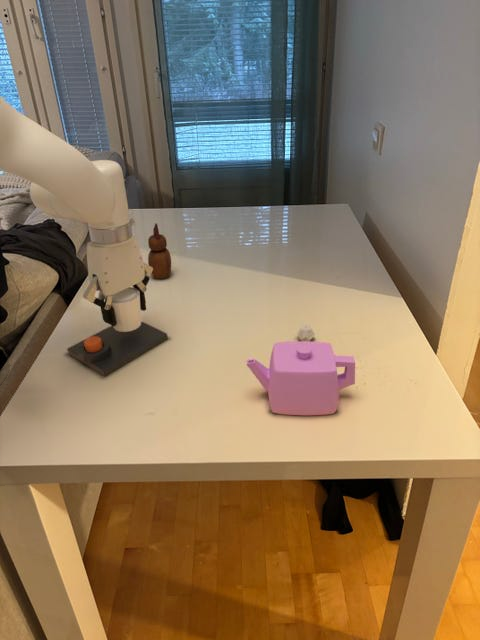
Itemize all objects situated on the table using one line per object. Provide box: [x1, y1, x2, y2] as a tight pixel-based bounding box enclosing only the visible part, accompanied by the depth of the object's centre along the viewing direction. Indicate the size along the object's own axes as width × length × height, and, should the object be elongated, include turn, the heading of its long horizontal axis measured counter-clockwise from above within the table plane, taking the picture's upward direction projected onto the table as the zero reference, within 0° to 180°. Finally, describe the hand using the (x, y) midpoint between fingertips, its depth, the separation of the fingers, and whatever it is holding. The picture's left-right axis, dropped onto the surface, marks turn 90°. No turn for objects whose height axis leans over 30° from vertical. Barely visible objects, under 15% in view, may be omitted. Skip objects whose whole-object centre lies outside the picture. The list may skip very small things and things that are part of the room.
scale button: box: [84, 335, 103, 352], centre depth 90 cm, size 3×3×2 cm
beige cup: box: [105, 286, 142, 332], centre depth 93 cm, size 7×7×7 cm
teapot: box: [246, 340, 356, 416], centre depth 78 cm, size 18×10×10 cm, turn 87°
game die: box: [296, 324, 315, 342], centre depth 95 cm, size 4×4×3 cm
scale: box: [67, 320, 169, 377], centre depth 95 cm, size 17×12×3 cm
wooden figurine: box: [147, 223, 172, 280], centre depth 120 cm, size 7×6×15 cm
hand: (125, 315), depth 94 cm, fingers closed on beige cup, 6 cm apart
